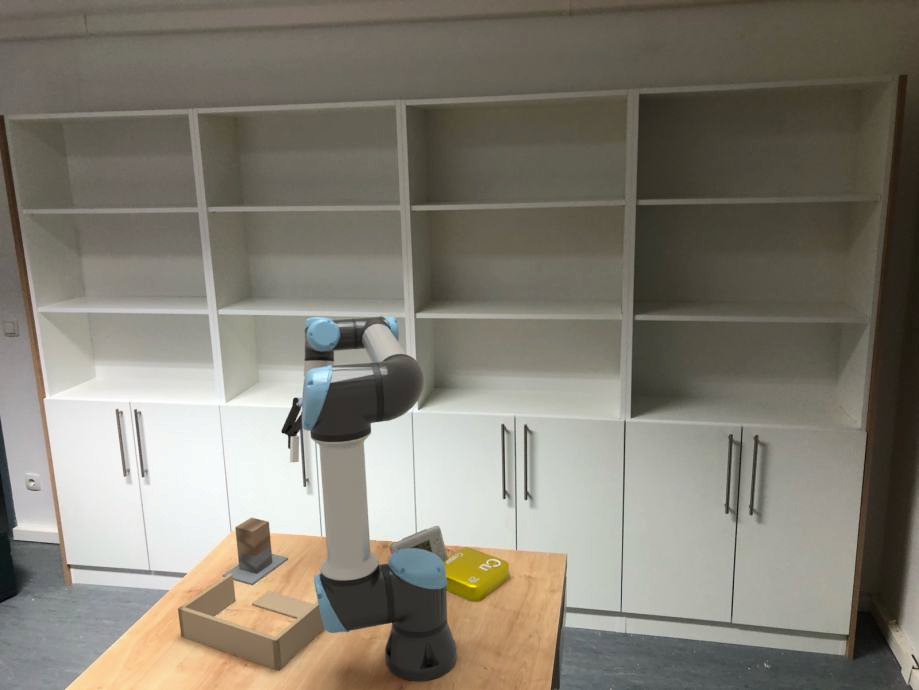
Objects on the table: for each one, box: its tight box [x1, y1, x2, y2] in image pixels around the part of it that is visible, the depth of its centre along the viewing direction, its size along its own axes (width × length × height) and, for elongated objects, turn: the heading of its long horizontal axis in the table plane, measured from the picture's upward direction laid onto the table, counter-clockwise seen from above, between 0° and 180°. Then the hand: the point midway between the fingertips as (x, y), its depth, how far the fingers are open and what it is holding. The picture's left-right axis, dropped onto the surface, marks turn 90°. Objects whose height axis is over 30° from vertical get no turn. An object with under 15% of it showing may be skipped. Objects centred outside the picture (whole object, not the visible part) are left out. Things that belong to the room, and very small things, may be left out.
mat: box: [222, 553, 289, 586], centre depth 188 cm, size 10×14×1 cm
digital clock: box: [389, 525, 449, 561], centre depth 182 cm, size 16×9×11 cm, turn 120°
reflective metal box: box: [234, 517, 273, 574], centre depth 187 cm, size 6×6×12 cm
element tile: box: [443, 546, 510, 603], centre depth 179 cm, size 15×15×5 cm
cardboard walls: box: [177, 574, 325, 671], centre depth 162 cm, size 28×22×7 cm
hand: (317, 462), depth 178 cm, fingers open, 13 cm apart
